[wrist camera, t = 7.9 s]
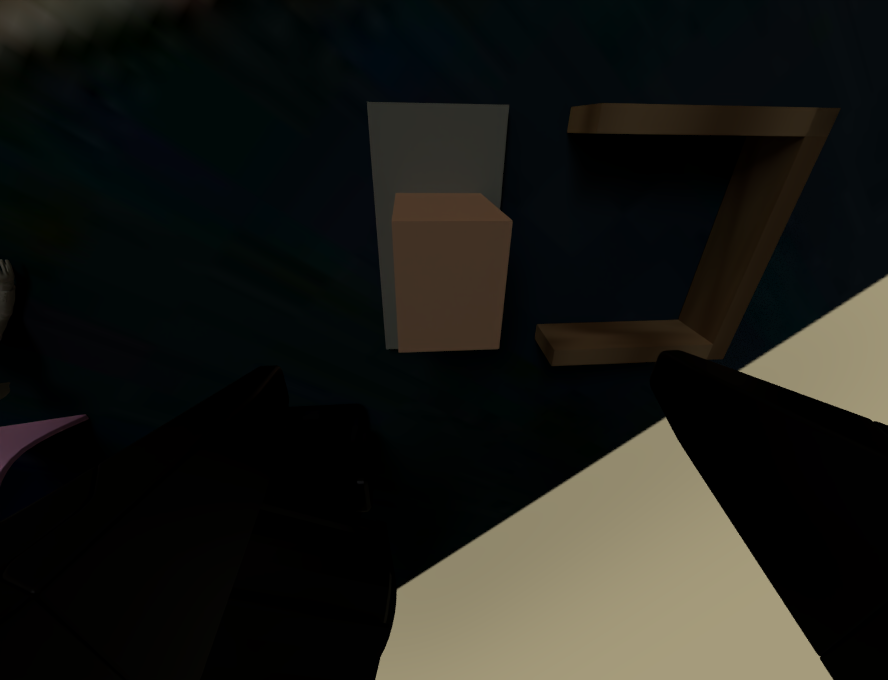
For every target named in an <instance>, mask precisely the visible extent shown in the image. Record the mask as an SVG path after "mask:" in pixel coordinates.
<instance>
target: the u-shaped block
mask: <svg viewBox="0 0 888 680" xmlns="http://www.w3.org/2000/svg"><path fill="white" fill-rule="evenodd" d="M840 109H841V108H806V107H759V106H712V105H665V104H618V103H599V104H591V105H584V106H576V107H571V112H570V118H569V124H568V131H567V133H598V134H669V135H741V136H746V139H745V142H744V145H743V147H742V150H741V153H740V155H739V158H738V161H737V163H736V166H735V169H734V171H733V174H732V177H731V179H730V182H729V185H728V187H727V190H726V193H725V195H724V198H723V201H722V203H721V206H720V209H719V212H718V214H717V217H716V220H715V222H714V225H713V228H712V230H711V233H710V236H709V238H708V241H707V244H706V246H705V249H704V252H703V254H702V257H701V260H700V262H699V265H698V268H697V270H696V273H695V276H694V279H693V281H692V284H691V287H690V289H689V292H688V295H687V297H686V300H685V303H684V305H683V308H682V311H681V313H680V316H679V319H678V320H654V321H623V322H592V323H560V324H537V327H536V333H535V340H536V342H537V343H538V345H539V347H540V348H541V350H542V351H543V353H544V355H545V356H546V358H547V360H548V361H549V363H550V364H551V366H567V365H590V364H614V363H638V362H656V360H657V358H658V355H659V354H660V353H661V352H662V351H665V350H681V351H684V352H687V353H690V354H692V355H695V356H698V357H701V358H703V359H706V360H709V359H723V358H724V356H725V353H726V351H727V349H728V347H729V345H730V343H731V341H732V339H733V336H734V334H735V332H736V330H737V328H738V326H739V324H740V322H741V319H742V317H743V315H744V313H745V311H746V309H747V307H748V304H749V302H750V300H751V298H752V296H753V294H754V292H755V290H756V287H757V285H758V283H759V281H760V279H761V277H762V275H763V273H764V270H765V268H766V266H767V264H768V262H769V260H770V258H771V256H772V253H773V251H774V249H775V247H776V245H777V243H778V241H779V239H780V236H781V234H782V232H783V230H784V228H785V226H786V224H787V222H788V219H789V217H790V215H791V213H792V211H793V209H794V207H795V204H796V202H797V200H798V198H799V196H800V194H801V192H802V190H803V187H804V185H805V183H806V181H807V179H808V177H809V175H810V173H811V170H812V168H813V166H814V164H815V162H816V160H817V158H818V156H819V153H820V151H821V149H822V147H823V145H824V143H825V141H826V139H827V136H828V134H829V132H830V130H831V128H832V126H833V124H834V121H835V119H836V117H837V115H838V113H839V111H840Z"/></svg>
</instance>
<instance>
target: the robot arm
mask: <svg viewBox="0 0 888 680" xmlns="http://www.w3.org/2000/svg"><path fill="white" fill-rule="evenodd" d="M650 386H651V389H652V391H653V393H654V395H655V397H656V399H657V401H658V402H659V404H660V406H661V408H662V410H663V412H664V414H665V416H666V418H667V420H668V422H669V424H670V426H671V427H672V430H673V431H674V433H675V435H676V437H677V439H678V440H679V442H680V443H681V445H682V447H683V448H684V450H685V451H686V453H687V455H688V456H689V458H690V459H691V461H692V462H693V464H694V466H695V467H696V469H697V470H698V471H699V473H700V475H701V476H702V478H703V479H704V481H705V482H706V484H707V485H708V487H709V489H710V490H711V492H712V493H713V495H714V496H715V498H716V499H717V501H718V502H719V504H720V505H721V507H722V508H723V510H724V512H725V513H726V515H727V516H728V518H729V519H730V521H731V522H732V524H733V525H734V527H735V528H736V530H737V532H738V533H739V535H740V536H741V537H742V539H743V541H744V542H745V544H746V545H747V547H748V548H749V550H750V552H751V553H752V555H753V556H754V557H755V559H756V561H757V562H758V564H759V565H760V567H761V568H762V570H763V572H764V573H765V575H766V576H767V578H768V579H769V581H770V582H771V584H772V585H773V587H774V588H775V590H776V591H777V593H778V595H779V596H780V598H781V599H782V601H783V602H784V604H785V605H786V607H787V608H788V610H789V611H790V613H791V615H792V616H793V618H794V619H795V621H796V622H797V624H798V625H799V627H800V628H801V630H802V631H803V633H804V635H805V636H806V638H807V639H808V641H809V642H810V644H811V645H812V647H813V648H814V650H815V651H816V653H817V654H818V655H819V656H821V657H820V660H821V661H822V663H823V664H824V666H825V667H826V669H827V670H828V672H829V673H830V675H831V677H832V678H833V680H888V425H885V424H882V423H880V422H876V421H874V422H873V421H872V420H870V419H868V418H866V417H863V416H860V415H857V414H855V413H852V412H849V411H846V410H844V409H841V408H838V407H835V406H833V405H830V404H827V403H824V402H822V401H819V400H816V399H813V398H811V397H808V396H805V395H802V394H799V393H797V392H794V391H791V390H789V389H786V388H783V387H780V386H778V385H775V384H772V383H769V382H767V381H764V380H761V379H758V378H756V377H753V376H750V375H747V374H745V373H742V372H739V371H736V370H734V369H731V368H728V367H725V366H723V365H720V364H717V363H714V362H712V361H709V360H706V359H703V358H701V357H698V356H695V355H692V354H690V353H687V352H684V351H681V350H665V351H662V352H661V353H660V354H659V355H658V358H657V360H656V363H655V366H654V368H653V371H652V374H651V377H650ZM288 404H289V395H288V391H287V387H286V383H285V379H284V375H283V372H282V369H281V368H280V367H279V366H260V367H258V368H256V369H255V370H253V371H251V372H250V373H248V374H246V375H245V376H243V377H242V378H240V379H238V380H237V381H235V382H233V383H232V384H230V385H228V386H227V387H225V388H223V389H222V390H220V391H218V392H217V393H215V394H214V395H212V396H210V397H209V398H207V399H205V400H204V401H202V402H200V403H199V404H197V405H195V406H194V407H192V408H190V409H189V410H187V411H186V412H184V413H182V414H181V415H179V416H177V417H176V418H174V419H172V420H171V421H169V422H167V423H166V424H164V425H162V426H161V427H159V428H158V429H156V430H154V431H153V432H151V433H149V434H148V435H146V436H144V437H143V438H141V439H139V440H138V441H136V442H134V443H133V444H131V445H130V446H128V447H126V448H125V449H123V450H121V451H120V452H118V453H116V454H115V455H113V456H111V457H110V458H108V459H106V460H105V461H103V462H102V463H100V464H99V465H98V468H97V467H93V468H91V469H90V470H88V471H86V472H85V473H83V474H82V475H80V476H78V477H77V478H75V479H73V480H72V481H70V482H68V483H67V484H65V485H63V486H62V487H60V488H58V489H57V490H55V491H53V492H52V493H50V494H48V495H46V496H45V497H43V498H41V499H40V500H38V501H36V502H35V503H33V504H31V505H29V506H28V507H26V508H24V509H22V510H21V511H19V512H17V513H15V514H13V515H12V516H10V517H8V518H6V519H4V520H3V521H1V522H0V680H375V678H376V674H377V670H378V665H379V660H380V657H381V655H382V653H383V651H384V649H385V646H386V644H387V641H388V639H389V636H390V632H391V629H392V625H393V620H394V615H395V607H396V592H397V589H396V580H395V574H394V568H393V562H392V556H391V550H390V545H389V539H388V533H387V527H386V523H384V522H381V521H377V520H376V521H375V522H374V521H370V520H367V519H363V518H361V512H368V511H369V510H370V509H371V507H372V496H373V484H374V473H375V462H376V457H375V448H374V439H373V434H372V433H371V432H370V431H367V428H366V420H365V412H364V408H363V406H361V405H359V404H342V405H321V406H301V407H288ZM353 411H358V413H354V412H353Z"/></svg>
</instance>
